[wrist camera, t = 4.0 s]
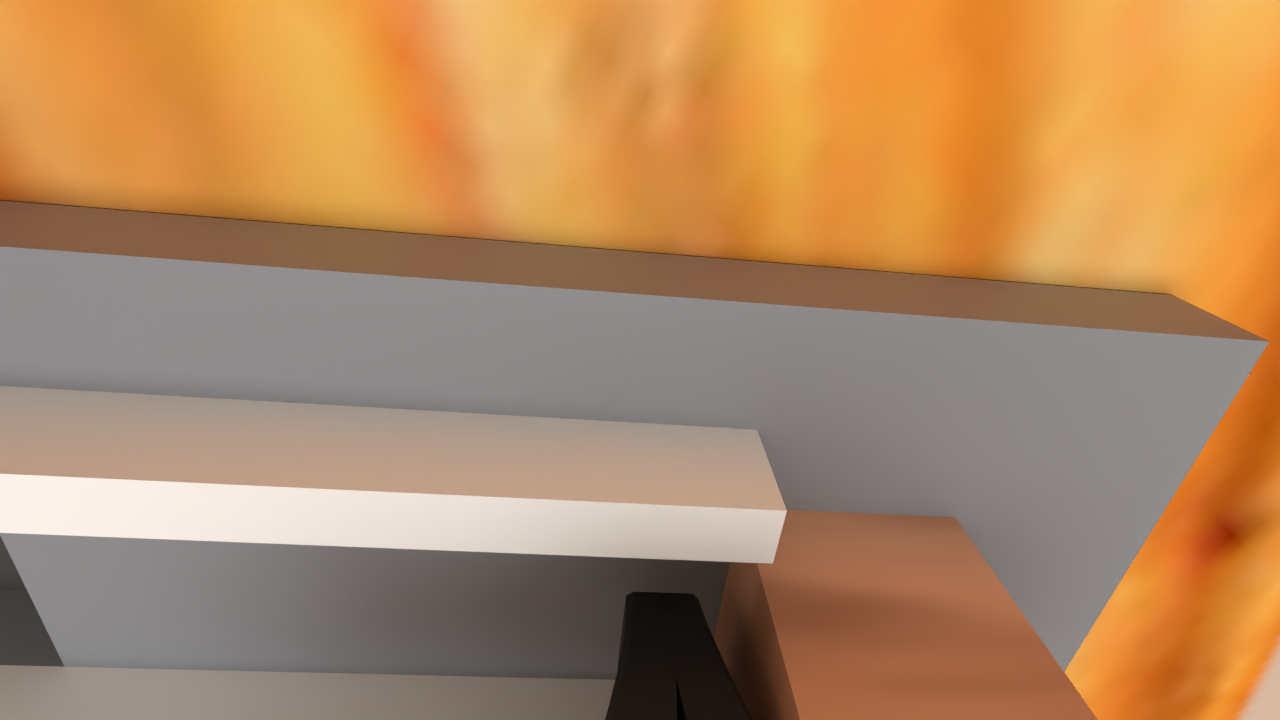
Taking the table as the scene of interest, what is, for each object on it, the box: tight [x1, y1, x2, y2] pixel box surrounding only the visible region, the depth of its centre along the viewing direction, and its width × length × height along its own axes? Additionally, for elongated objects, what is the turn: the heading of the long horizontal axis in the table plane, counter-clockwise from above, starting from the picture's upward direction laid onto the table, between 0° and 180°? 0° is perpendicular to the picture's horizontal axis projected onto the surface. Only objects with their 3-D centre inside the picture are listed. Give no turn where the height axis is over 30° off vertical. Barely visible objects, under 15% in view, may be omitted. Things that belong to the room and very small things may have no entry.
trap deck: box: [0, 200, 1269, 680], centre depth 13 cm, size 12×28×2 cm, turn 84°
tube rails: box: [0, 386, 787, 720], centre depth 11 cm, size 8×20×2 cm, turn 84°
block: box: [714, 510, 1097, 720], centre depth 11 cm, size 4×4×4 cm
